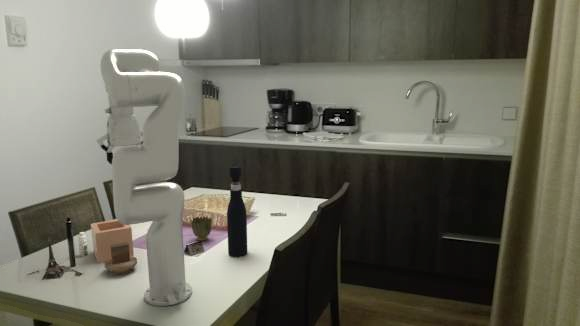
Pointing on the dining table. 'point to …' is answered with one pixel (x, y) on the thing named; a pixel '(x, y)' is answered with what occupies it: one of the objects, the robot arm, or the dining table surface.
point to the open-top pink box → (109, 238)
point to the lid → (120, 259)
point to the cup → (201, 227)
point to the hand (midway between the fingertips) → (125, 161)
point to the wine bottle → (236, 217)
